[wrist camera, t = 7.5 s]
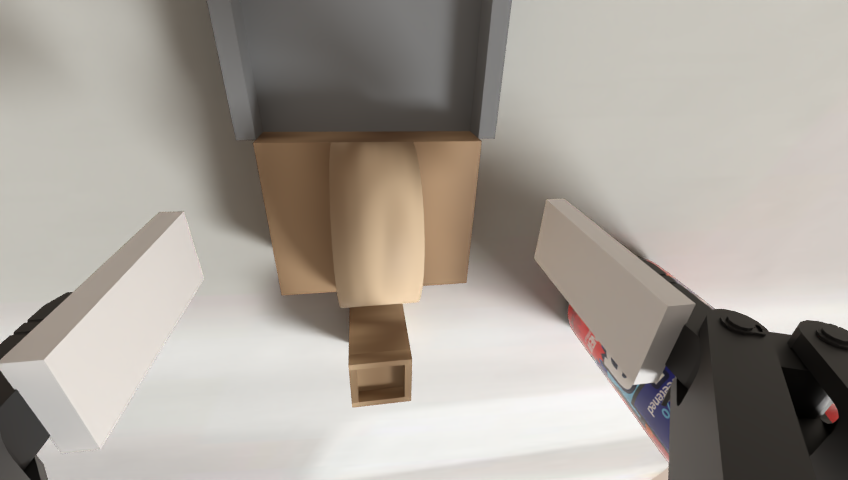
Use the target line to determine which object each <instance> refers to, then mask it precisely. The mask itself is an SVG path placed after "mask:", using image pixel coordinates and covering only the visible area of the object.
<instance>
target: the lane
mask: <svg viewBox="0 0 848 480" xmlns="http://www.w3.org/2000/svg"><path fill="white" fill-rule="evenodd" d="M511 3H512V0H207V4H208V9H209V13H210V18H211V23H212V28H213V33H214V37H215V42H216V47H217V52H218V56H219V61H220V66H221V71H222V76H223V80H224V85H225V90H226V95H227V99H228V104H229V109H230V114H231V119H232V123H233V128H234V133H235V138H236V140H256V139H257V138H258V137H259V136H260V135H261V134H262V132H381V131H470V132H472V133H473V134H474V135H475V136H476V137H477V138H478V139H486V138H495V132H496V124H497V116H498V108H499V100H500V92H501V83H502V75H503V67H504V59H505V51H506V43H507V35H508V27H509V19H510V11H511Z"/></svg>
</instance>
